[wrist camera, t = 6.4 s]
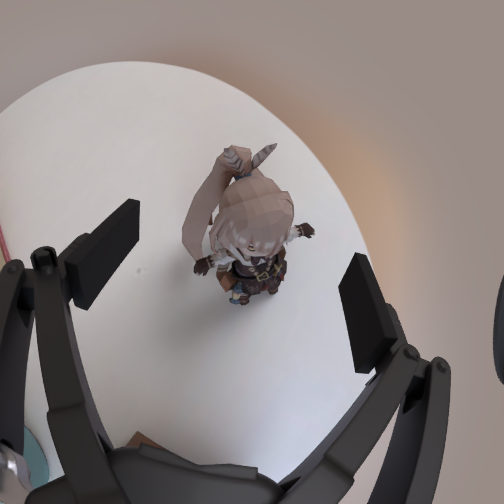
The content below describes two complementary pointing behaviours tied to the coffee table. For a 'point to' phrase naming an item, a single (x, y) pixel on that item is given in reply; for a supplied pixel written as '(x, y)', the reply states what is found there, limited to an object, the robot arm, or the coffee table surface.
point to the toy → (242, 225)
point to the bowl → (35, 460)
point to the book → (3, 251)
